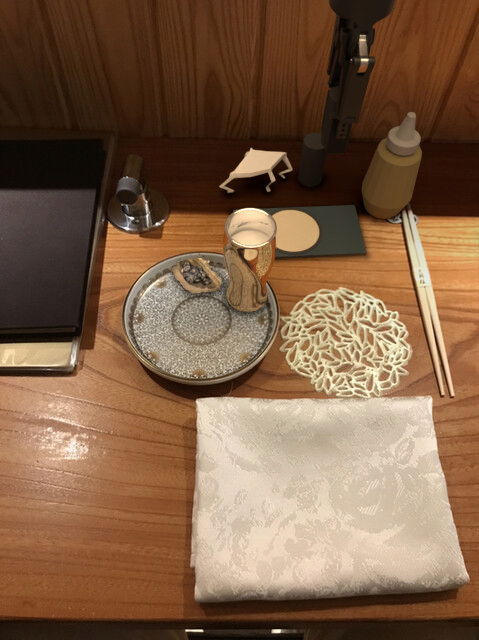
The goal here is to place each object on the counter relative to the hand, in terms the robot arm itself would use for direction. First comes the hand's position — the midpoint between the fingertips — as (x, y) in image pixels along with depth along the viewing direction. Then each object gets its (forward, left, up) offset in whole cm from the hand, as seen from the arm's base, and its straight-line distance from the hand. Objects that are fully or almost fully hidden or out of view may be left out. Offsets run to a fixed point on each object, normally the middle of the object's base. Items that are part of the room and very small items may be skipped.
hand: (332, 140), depth 82 cm
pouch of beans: (+21, +14, -13) cm, 28 cm away
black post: (+1, -6, -13) cm, 14 cm away
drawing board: (+5, +6, -13) cm, 15 cm away
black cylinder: (0, 0, 0) cm, 0 cm away
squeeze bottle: (-10, +1, -13) cm, 17 cm away
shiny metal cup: (+14, +18, -13) cm, 26 cm away
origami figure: (+11, -5, -13) cm, 18 cm away
